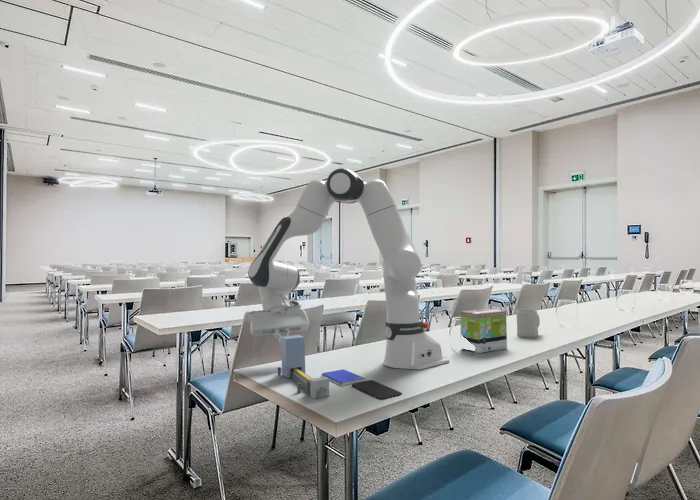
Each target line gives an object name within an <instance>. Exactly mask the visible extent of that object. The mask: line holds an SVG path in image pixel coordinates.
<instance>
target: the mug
mask: <svg viewBox="0 0 700 500" xmlns="http://www.w3.org/2000/svg"><path fill="white" fill-rule="evenodd" d="M515 313H516V335H517V337H520V338H528V339H529V338H530V339H531V338H537V337H539V327H540V323H541V322H540V321H541V320H540V316H539V314H538V311H537V310H534V309H518V310H516V312H515Z"/></svg>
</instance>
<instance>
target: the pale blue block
mask: <svg viewBox="0 0 700 500" xmlns="http://www.w3.org/2000/svg"><path fill="white" fill-rule="evenodd" d="M283 336H284V337H281V343H280V344H281V345H280V347H281V375H282V376H283V377H285V379H290V378H291V377H290V368H298V369H300V370H301V371H303V372H304V373H305V374H306V351H305V350H306V349H305V345H306V343H305V342H306V341H305V336H303V335H301V334H295V335H294V334H293V335H288V336H286V335H283ZM291 379H292V378H291Z"/></svg>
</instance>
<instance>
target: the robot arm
mask: <svg viewBox="0 0 700 500" xmlns="http://www.w3.org/2000/svg"><path fill="white" fill-rule="evenodd" d="M357 202H358V204H360V205H361V208H362V210H363V213H364V216H365V218H366V220H367V224H368V225H369V228H370V231H371V234H372V237H373V240H374V241H375V244H376V245H377V248H378V249H379V251H380V255H381V257H382V259H383V261H382V270H383V283H384V293H385V306H386V308H385V309H386V310H385V311H386V321H385V338H386V345H385V353H384V358H383V362H382V364H383V365H384V366H385V367H389V368H393V369H405V370H406V369H407V370H409V369H411V370H424V369H428V368H432V367H436V366H439V365H443V364H447V363H450V359H449V358H448V357H447V356H445V355H443V352H442V346H441V344H440V343H439V341H437V340H436V339H434V338H433V337H432V336H430V335H429V334H428V333H426V331H425V329H430V327H431V324H430V323H429V322H425V321H423V322H422V321H420V306H419V305H420V301H419V300H420V299H419V295H418V290H417V289H418V288H417V283H416V278H417V276H418V275H419V273H420V271H421V268H422V262H421V258H420V256H419V253H418V252H417V250H416V248H415V245H414V243H413V241H412V240H411V237H410V235H409V233H408V231H407V229H406V227H405V225H404V223H403V219H402V216H401V214H400V212H399V209H398V205H397V204H396V201H395V199H394V197H393V195H392V192H391V191H390V189H389V187H388V185H387V184H386V182H385V181H383V180H381V179H371V180H368V181H364V179H362V177H360V176H359V175H358V174H357V173H356V172H355V171H353V170H351V169H349V168H346V167H341V168H337V169H334V170H332V171H331V172H330V173H329V175H328V176H327V179H326V181H325V180H321V179H313V180H311V181H309V183H308V184H307V185H306V187H305V188H304V189H303V192H302V193H301V195H300V197H299V199H298V201H297V204H296V206H295V208H294V209H293V211H291V213H290V214H289V215H287V216H284V217H283V218H281V219H280V220H279V222H278V223H277V224H276V226H275V227H274V229H273V231H272V232H271V234H270V235H269V237H268V239H267V241H266V242H265V244H264V246H263V247H262V248H261V250H260V251H259V253H258V255H257V256H256V257H255V258H254V259H253V261H251V263H250V265H249V268H248V274H247V275H248V278H249V280H250V282H251V283H252V285H253V286H255V287H258V292H259V298H260V300H261V301H262V302H261V306H262V309H261V310H252V311H251V312H249V313H248V314H247V320H248V322H249V323H250V324H249V325H250V334H251V335H252V336H255V337H256V336H257V337H258V336H265V335H273V336H274V337H275V338H276V339H278V342H279V344H281V337H284V336H290V335H289V334H290V333H294V332H305V331H307V330H308V329H309V327H310V320H309V317H308V315H307V313H306V311H305V310H304V308H302V303H301V302H300V301H296V300H291V299H287V298H286V296H289V295H290V294H291V293H292V292H294V290H296V289H297V288H298V286H299V284H300V282H301V281H300V280H301V278H300V271H299V269H298V268H297V267H296V266H295V265H293V264H290V263H289V264H288V263H284V262H280V261H276V260H274V259H275V258H276V256H277V255H278V253H279V251H280V250H281V248H282V246H283V244H285V242H286V241H287V240H290V238H294V237H303V236H310V235H313V234H315V233H317V232H319V231H320V229H321V228H322V226H323V225H324V222H325V220H326V217H327V215H328V214H329V211H330V208H331V207H332V205H333V204H334V203H341V204H354V203H357ZM282 334H284V335H282Z"/></svg>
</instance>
